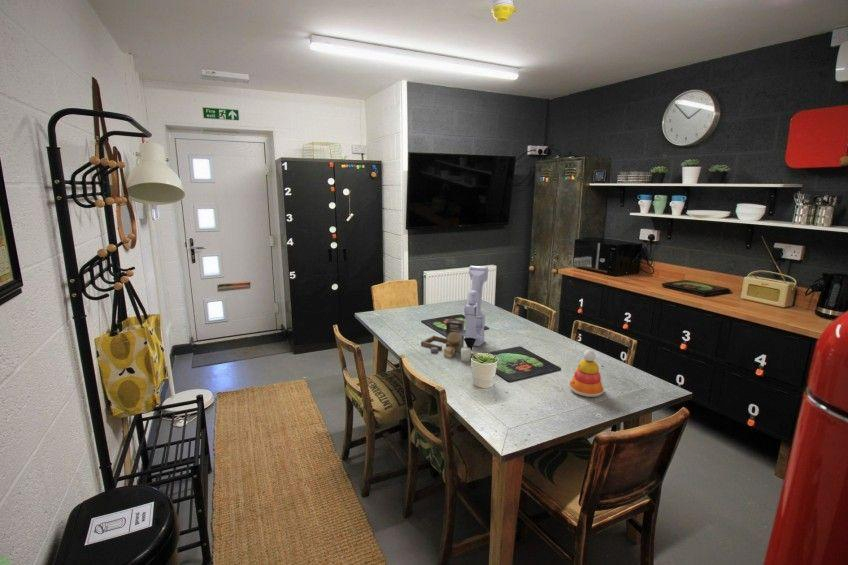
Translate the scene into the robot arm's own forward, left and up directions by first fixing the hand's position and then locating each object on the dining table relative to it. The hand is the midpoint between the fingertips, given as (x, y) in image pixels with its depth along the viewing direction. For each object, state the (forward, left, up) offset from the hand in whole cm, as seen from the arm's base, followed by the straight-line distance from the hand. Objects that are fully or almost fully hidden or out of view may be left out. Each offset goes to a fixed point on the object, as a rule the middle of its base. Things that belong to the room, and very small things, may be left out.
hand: (469, 350), depth 220 cm
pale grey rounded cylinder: (+9, +3, -2) cm, 9 cm away
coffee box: (0, -9, -2) cm, 10 cm away
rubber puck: (+10, -16, -2) cm, 19 cm away
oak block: (+9, -7, -2) cm, 12 cm away
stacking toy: (+7, +62, -2) cm, 62 cm away
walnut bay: (0, -20, -1) cm, 21 cm away
